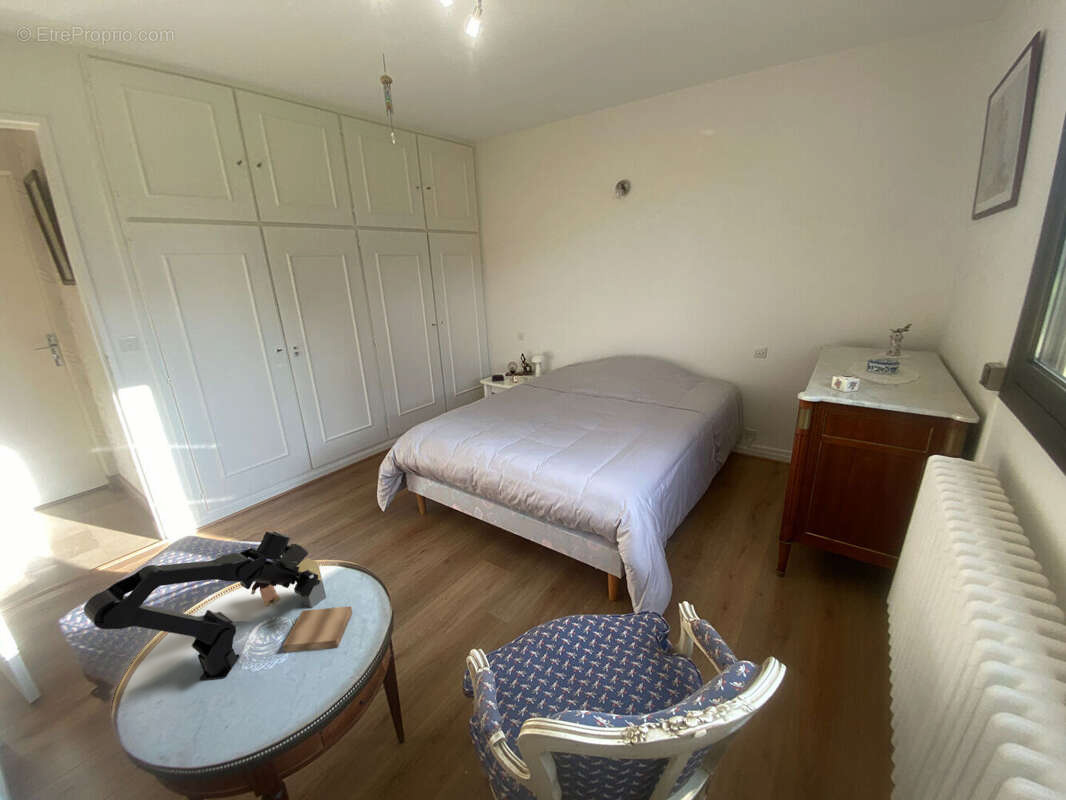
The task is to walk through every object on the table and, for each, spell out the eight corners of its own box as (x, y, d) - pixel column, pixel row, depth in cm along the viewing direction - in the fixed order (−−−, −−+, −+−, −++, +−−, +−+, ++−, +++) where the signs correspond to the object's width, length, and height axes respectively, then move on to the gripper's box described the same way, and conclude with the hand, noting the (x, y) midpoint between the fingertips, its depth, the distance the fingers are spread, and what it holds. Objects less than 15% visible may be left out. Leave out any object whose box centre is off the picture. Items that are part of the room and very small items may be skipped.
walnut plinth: (285, 652, 115) (283, 645, 114) (304, 617, 127) (302, 610, 126) (338, 647, 116) (336, 640, 115) (352, 612, 127) (350, 606, 127)
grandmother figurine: (279, 591, 137) (270, 558, 134) (285, 596, 135) (276, 563, 131) (253, 606, 132) (243, 573, 128) (259, 612, 129) (248, 577, 125)
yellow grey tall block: (311, 607, 130) (302, 572, 126) (301, 602, 132) (292, 567, 128) (326, 597, 134) (317, 562, 130) (316, 591, 137) (307, 557, 133)
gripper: (304, 553, 118) (346, 562, 131) (266, 535, 127) (308, 545, 140) (283, 594, 114) (328, 600, 127) (246, 573, 123) (291, 579, 136)
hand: (314, 579), depth 132 cm, fingers closed on yellow grey tall block, 5 cm apart
